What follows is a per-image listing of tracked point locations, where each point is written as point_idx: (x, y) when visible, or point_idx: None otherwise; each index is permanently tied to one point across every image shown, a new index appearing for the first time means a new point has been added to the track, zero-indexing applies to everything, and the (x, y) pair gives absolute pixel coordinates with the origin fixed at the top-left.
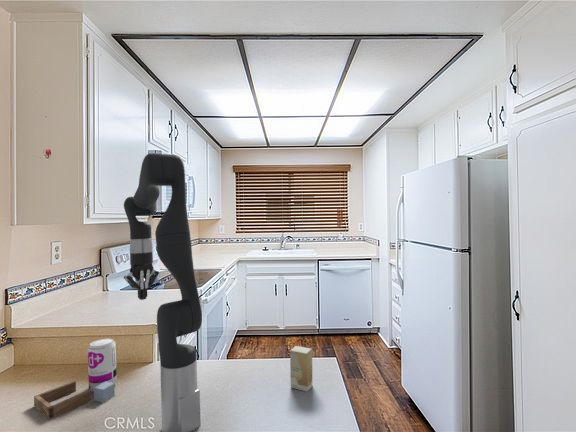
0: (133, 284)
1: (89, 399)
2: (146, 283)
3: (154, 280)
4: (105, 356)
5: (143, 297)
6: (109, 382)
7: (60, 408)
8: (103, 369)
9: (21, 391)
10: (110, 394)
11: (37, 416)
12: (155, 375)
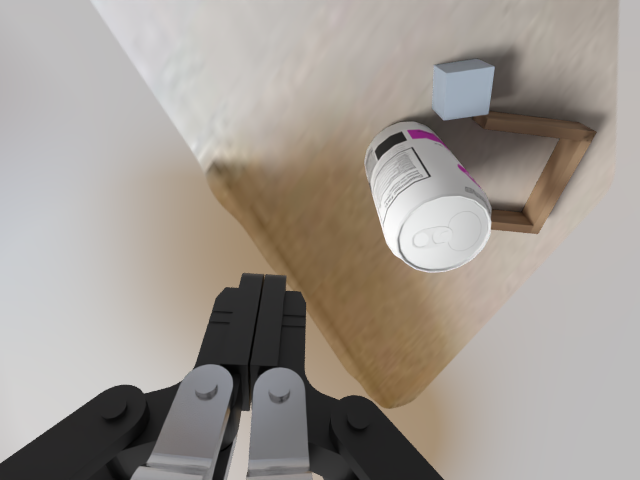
0: (433, 477)
1: None
2: (190, 442)
3: (3, 467)
4: (454, 167)
5: (273, 286)
6: (445, 98)
7: (562, 124)
8: (446, 150)
9: (473, 304)
10: (454, 64)
11: None
12: (274, 55)
